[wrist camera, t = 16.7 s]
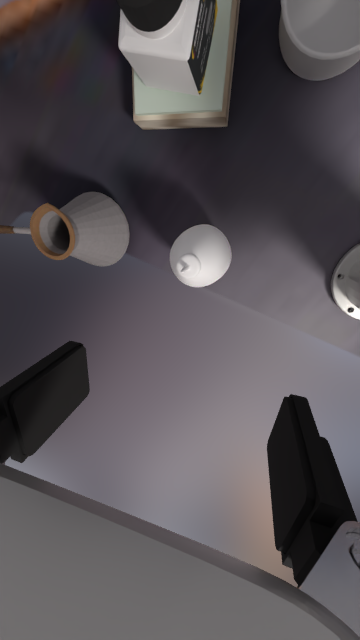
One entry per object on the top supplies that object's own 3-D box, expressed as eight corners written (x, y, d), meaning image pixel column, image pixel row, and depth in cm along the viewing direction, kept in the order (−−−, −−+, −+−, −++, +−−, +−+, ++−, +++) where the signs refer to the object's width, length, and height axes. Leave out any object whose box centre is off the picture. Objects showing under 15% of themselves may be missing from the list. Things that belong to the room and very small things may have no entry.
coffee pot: (135, 195, 37) (73, 179, 23) (136, 267, 41) (85, 288, 28) (25, 190, 41) (-80, 174, 28) (38, 255, 46) (-47, 269, 32)
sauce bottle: (242, 257, 36) (240, 286, 20) (201, 283, 39) (172, 324, 23) (216, 213, 35) (192, 206, 19) (175, 243, 38) (126, 259, 22)
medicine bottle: (201, 97, 27) (173, 15, 16) (145, 87, 28) (84, 3, 17) (219, 9, 24) (198, -166, 13) (155, 1, 25) (88, -168, 14)
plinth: (241, -9, 25) (240, -44, 22) (227, 126, 30) (225, 114, 27) (141, 7, 28) (127, -23, 25) (143, 129, 33) (131, 119, 29)
